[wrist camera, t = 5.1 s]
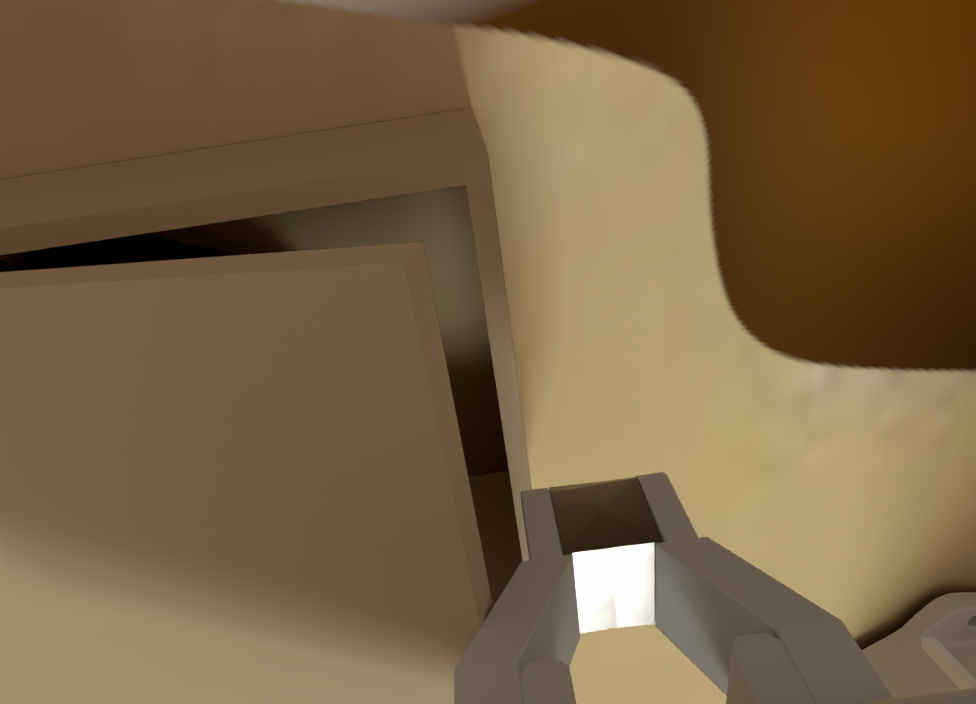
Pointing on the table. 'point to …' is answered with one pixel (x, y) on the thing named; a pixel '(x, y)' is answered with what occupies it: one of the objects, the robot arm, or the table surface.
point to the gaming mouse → (112, 253)
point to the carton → (298, 186)
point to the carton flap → (233, 484)
